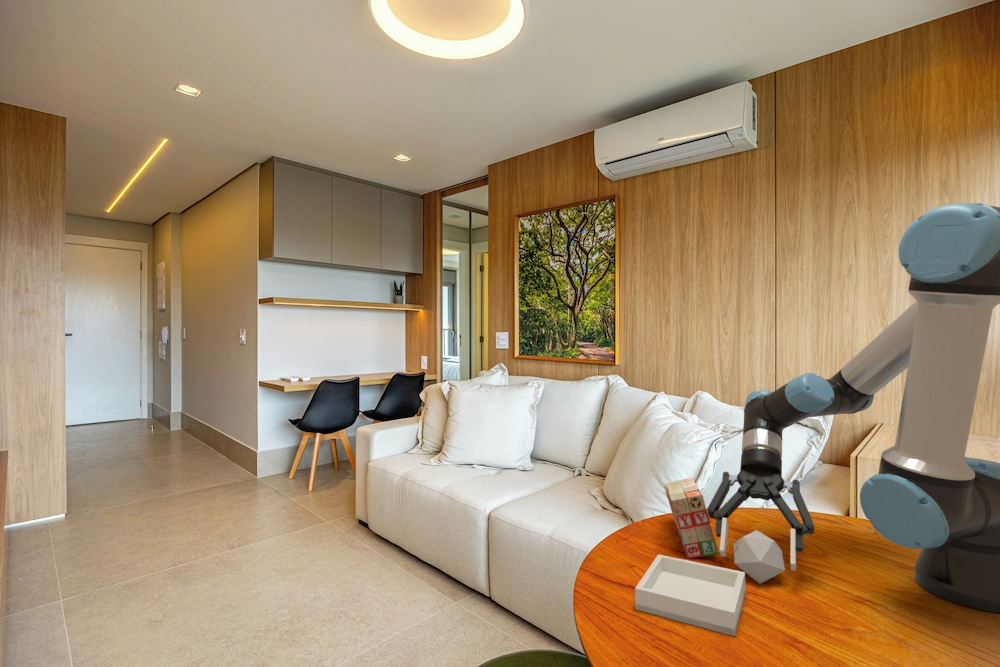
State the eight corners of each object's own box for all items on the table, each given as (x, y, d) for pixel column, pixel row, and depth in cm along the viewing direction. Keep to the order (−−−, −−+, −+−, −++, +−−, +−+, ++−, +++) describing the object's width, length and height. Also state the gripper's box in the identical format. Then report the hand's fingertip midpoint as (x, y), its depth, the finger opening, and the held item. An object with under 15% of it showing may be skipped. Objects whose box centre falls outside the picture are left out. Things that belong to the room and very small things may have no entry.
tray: (745, 592, 88) (745, 572, 88) (734, 636, 75) (734, 612, 75) (658, 572, 95) (658, 554, 95) (635, 609, 83) (635, 588, 83)
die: (749, 565, 99) (721, 528, 99) (792, 553, 95) (763, 514, 94) (752, 599, 92) (722, 559, 92) (799, 587, 88) (767, 545, 87)
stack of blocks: (673, 521, 122) (660, 472, 123) (700, 516, 121) (685, 466, 121) (687, 559, 101) (670, 499, 102) (719, 554, 100) (702, 493, 101)
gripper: (827, 473, 100) (833, 583, 87) (704, 460, 113) (692, 555, 99) (827, 452, 96) (833, 565, 82) (699, 441, 108) (686, 538, 95)
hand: (756, 560), depth 91 cm, fingers open, 11 cm apart
